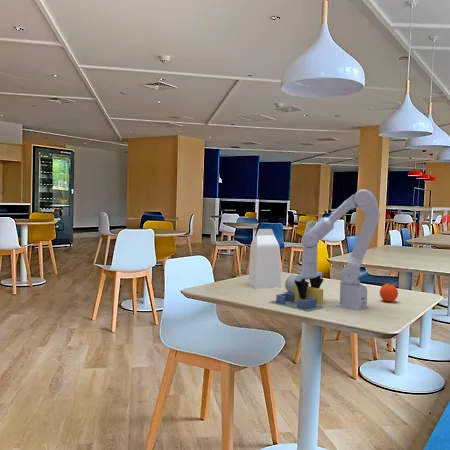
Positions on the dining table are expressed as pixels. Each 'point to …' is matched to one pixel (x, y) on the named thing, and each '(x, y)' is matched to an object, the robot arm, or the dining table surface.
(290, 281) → the ceramic mug
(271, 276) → the milk
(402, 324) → the dining table surface
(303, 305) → the end cap
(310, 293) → the slat
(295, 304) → the mat
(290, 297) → the end cap
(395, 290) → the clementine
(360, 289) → the robot arm
